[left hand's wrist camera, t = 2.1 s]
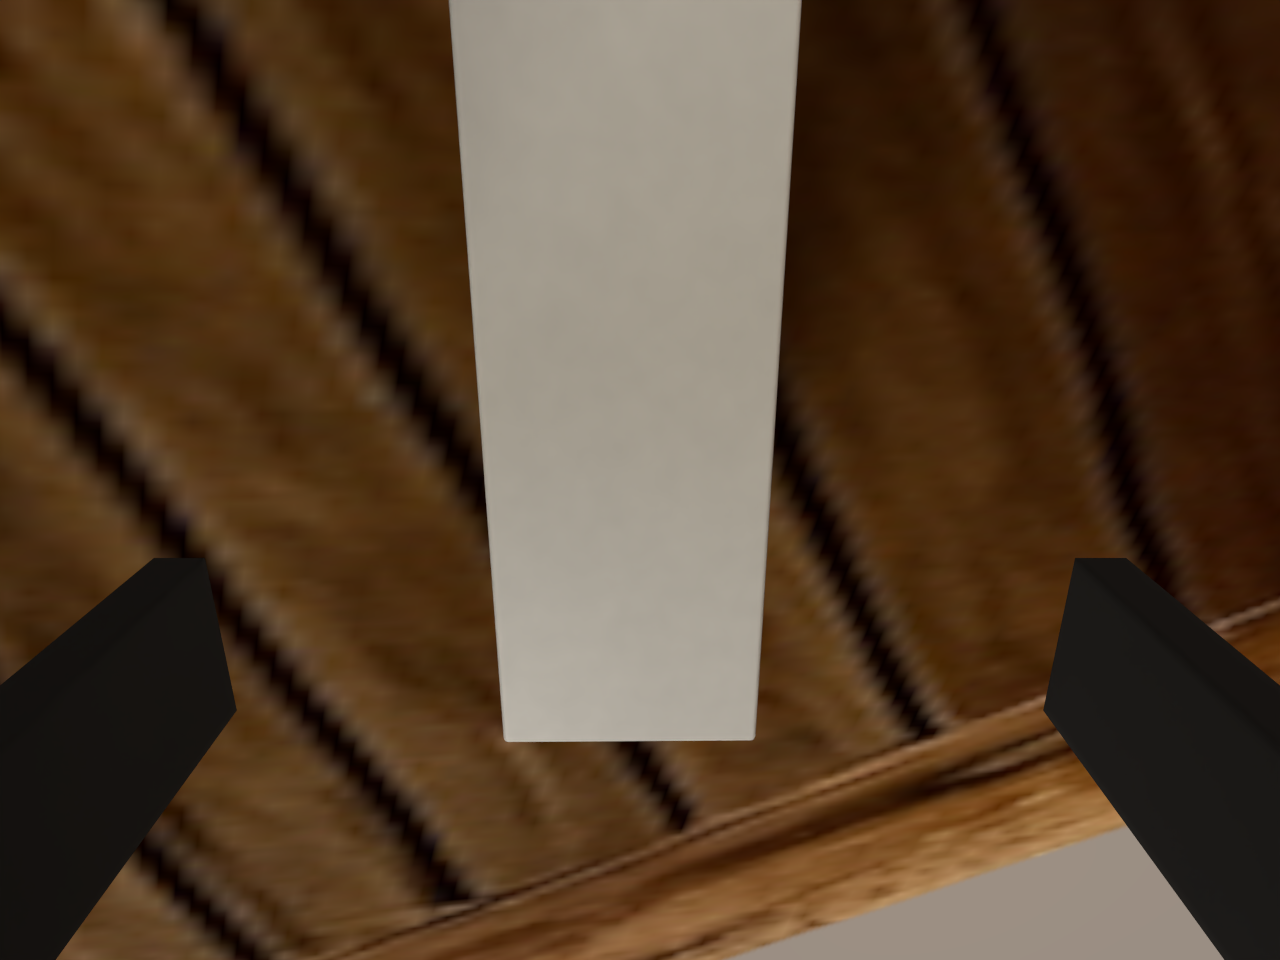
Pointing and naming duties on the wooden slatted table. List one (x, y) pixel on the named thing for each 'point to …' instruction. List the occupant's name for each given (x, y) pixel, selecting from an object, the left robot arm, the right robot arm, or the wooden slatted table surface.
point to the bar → (627, 349)
